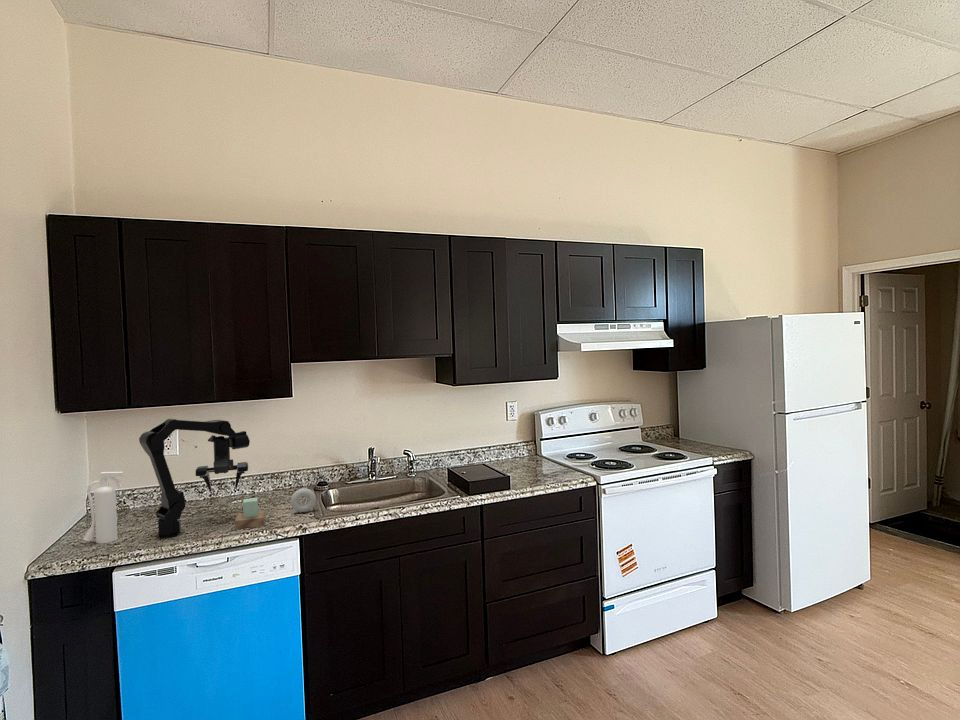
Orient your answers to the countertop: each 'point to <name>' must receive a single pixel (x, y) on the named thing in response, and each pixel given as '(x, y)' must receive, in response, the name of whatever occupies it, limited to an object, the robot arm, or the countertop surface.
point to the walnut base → (249, 521)
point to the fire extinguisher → (103, 509)
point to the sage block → (250, 507)
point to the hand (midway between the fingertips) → (223, 490)
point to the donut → (306, 506)
